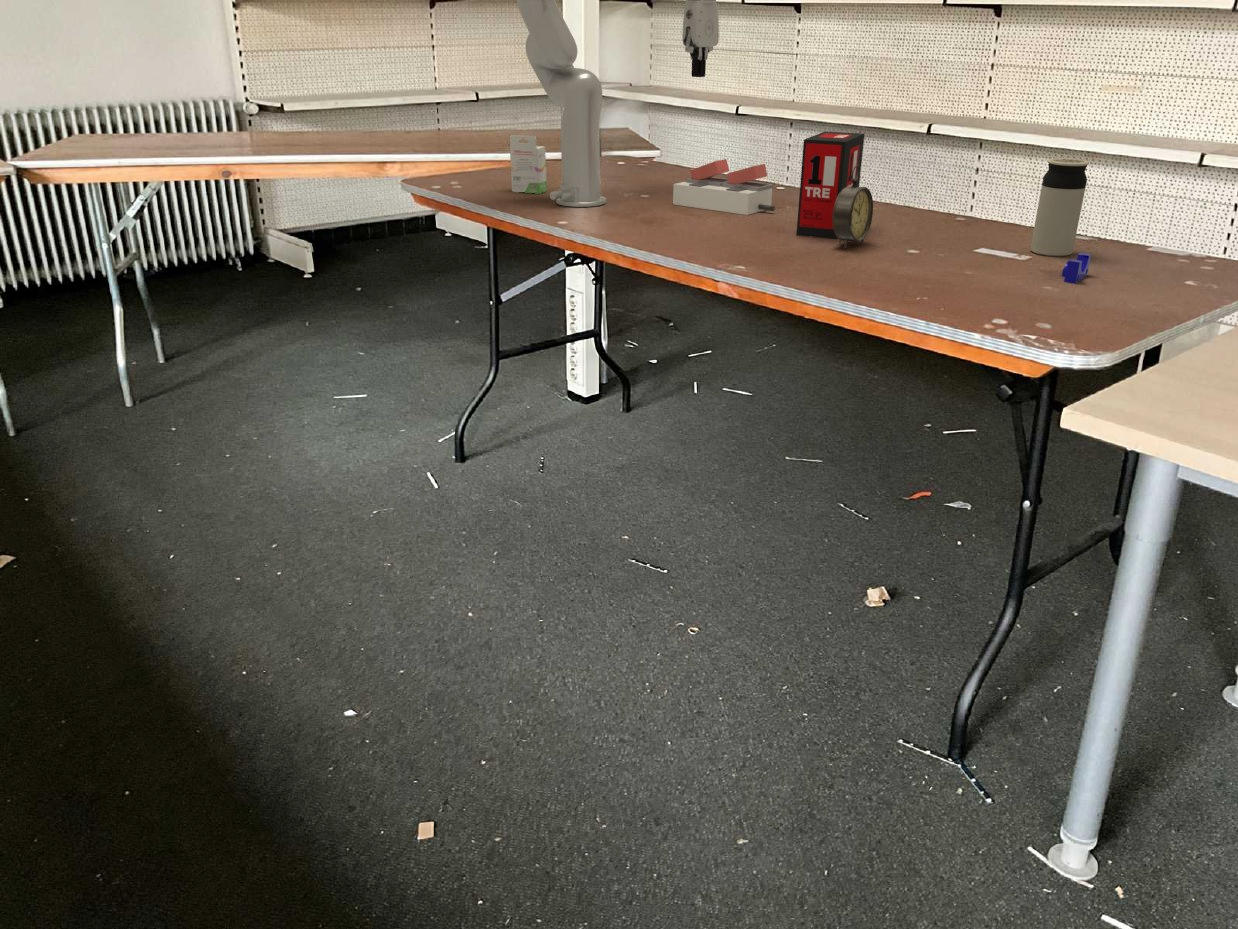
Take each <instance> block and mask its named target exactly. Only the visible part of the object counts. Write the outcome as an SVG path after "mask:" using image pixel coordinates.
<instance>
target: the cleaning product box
mask: <svg viewBox="0 0 1238 929" xmlns="http://www.w3.org/2000/svg"><path fill="white" fill-rule="evenodd" d="M865 136H866V135H865V133H862V132H861V133H859V132H858V133H857V132H841V131H823V132H819V133H817V134H815V135H814V134H813V135H812V136H809V137H805V138H804V139H803V146H802V159H801V169H800V170H801V171H800V172H801V173H800V184H799V185H800V186H799V196H798V197H799V198H798V208H797V223H796V232H795V233H796V234H795V235H796V236H801V237H809V236H812V237H813V238H821V239H831V240H837V239H839V238H838V237H837V236H836V234H835V232H834V229H833V209H834V204H835V201H836V199H837V197H838V195H839V193H840V192H841V191H842V190H843V189H844V188H846V187H849V186H852V185H853V182H852V171H853V169H854V167H855V166H856V165H858V166H859V176H858V179H857V182H856V183H857V187H860V182H861V181H860V180H861V171H862V162H863V161H862V160H863V150H864V142H865ZM857 174H858V168H857V167H856V168H855V170H854V174H853V179H856V178H857ZM812 237H811V238H812Z"/></svg>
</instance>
